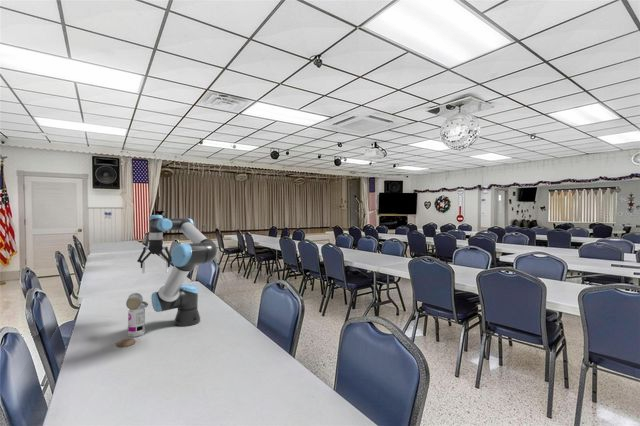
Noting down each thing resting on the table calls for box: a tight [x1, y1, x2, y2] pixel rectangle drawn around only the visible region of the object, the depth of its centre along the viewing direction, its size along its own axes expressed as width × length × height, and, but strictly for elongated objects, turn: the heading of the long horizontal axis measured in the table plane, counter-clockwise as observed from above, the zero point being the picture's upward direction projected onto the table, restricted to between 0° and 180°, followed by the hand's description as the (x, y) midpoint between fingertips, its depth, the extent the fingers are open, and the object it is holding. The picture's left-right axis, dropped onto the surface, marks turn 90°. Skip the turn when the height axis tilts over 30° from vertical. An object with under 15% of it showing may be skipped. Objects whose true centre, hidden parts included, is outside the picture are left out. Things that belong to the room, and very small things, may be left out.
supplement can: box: [127, 306, 146, 338], centre depth 178 cm, size 8×8×15 cm
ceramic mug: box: [125, 292, 149, 310], centre depth 178 cm, size 11×8×8 cm
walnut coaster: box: [115, 338, 137, 348], centre depth 165 cm, size 9×9×1 cm
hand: (155, 272), depth 200 cm, fingers open, 13 cm apart
